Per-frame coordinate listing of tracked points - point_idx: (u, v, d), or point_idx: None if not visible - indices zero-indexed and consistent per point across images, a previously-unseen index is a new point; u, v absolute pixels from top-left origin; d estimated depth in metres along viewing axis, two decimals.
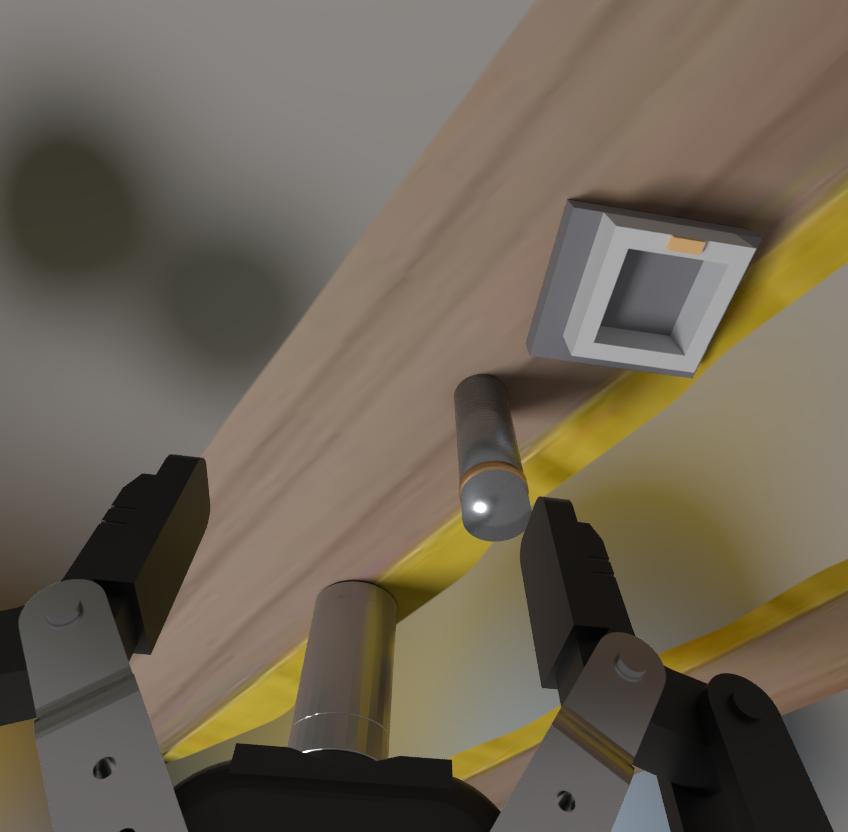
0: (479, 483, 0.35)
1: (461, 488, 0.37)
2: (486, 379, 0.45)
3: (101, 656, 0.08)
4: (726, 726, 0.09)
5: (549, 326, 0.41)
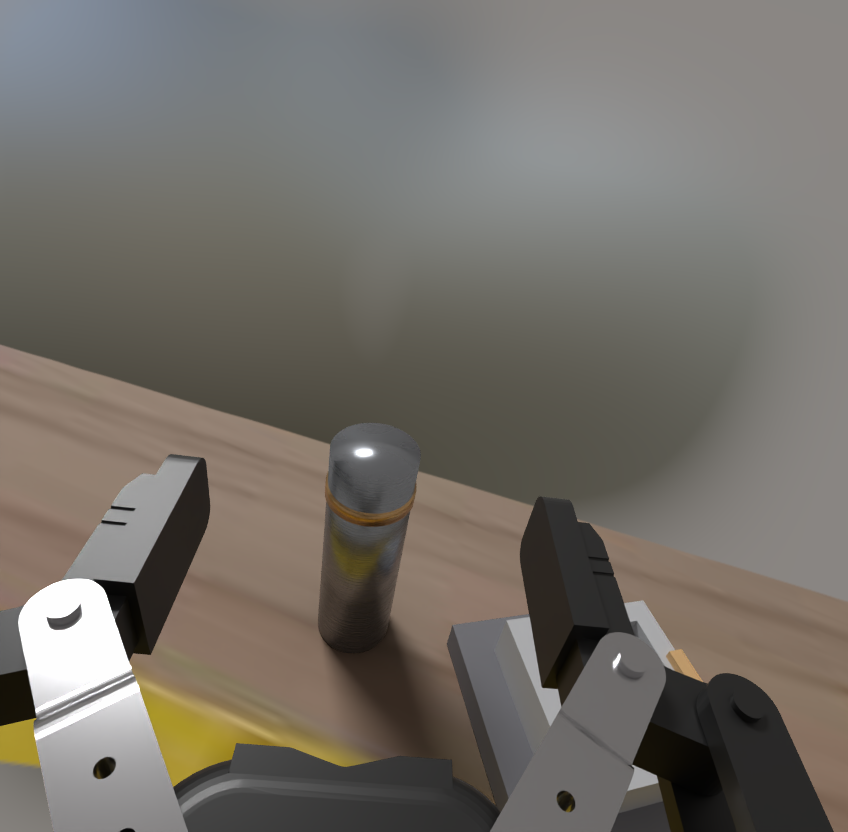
0: None
1: None
2: None
3: (101, 656, 0.08)
4: (726, 726, 0.09)
5: (496, 631, 0.34)
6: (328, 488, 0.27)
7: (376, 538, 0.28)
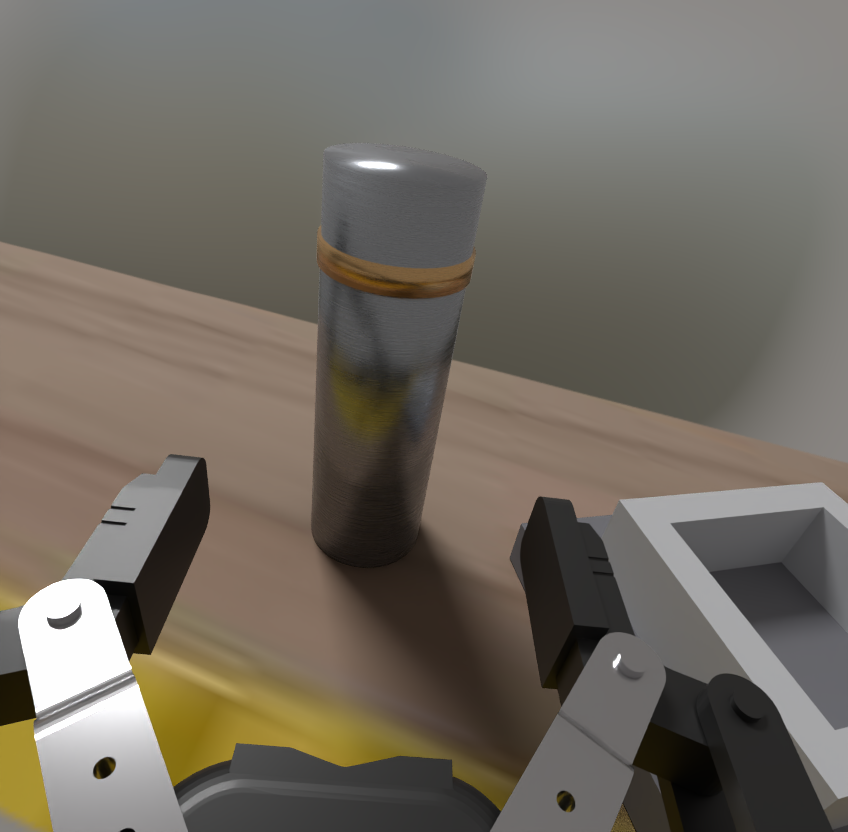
0: None
1: None
2: None
3: (101, 656, 0.08)
4: (726, 726, 0.09)
5: None
6: (322, 237, 0.15)
7: (408, 329, 0.15)
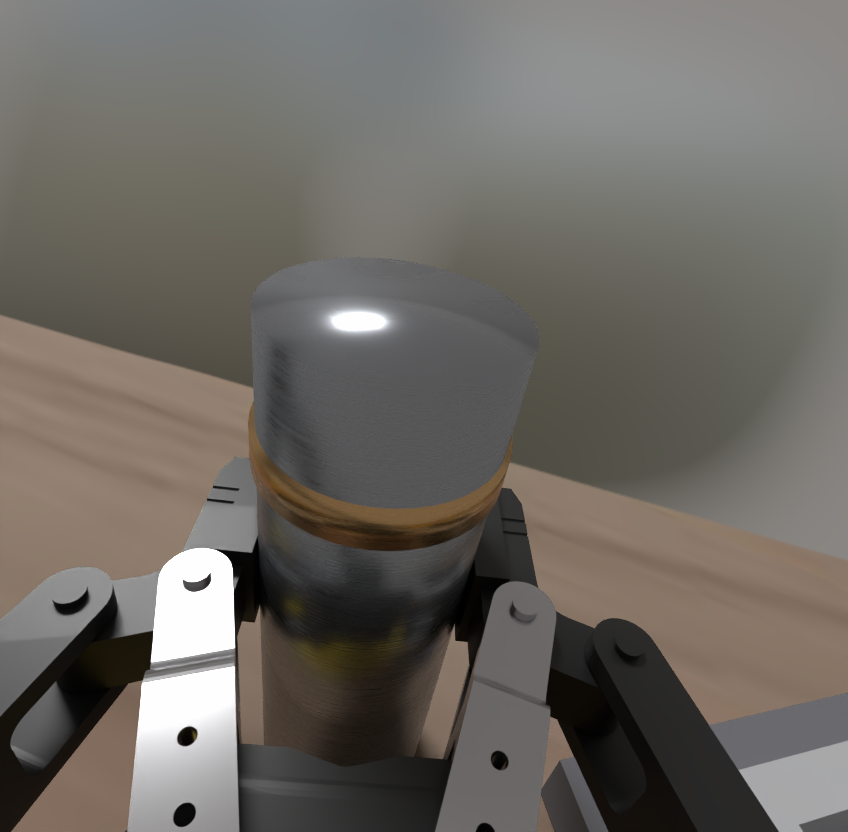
0: None
1: None
2: None
3: (214, 627, 0.09)
4: (606, 664, 0.10)
5: None
6: (253, 432, 0.09)
7: (402, 585, 0.09)
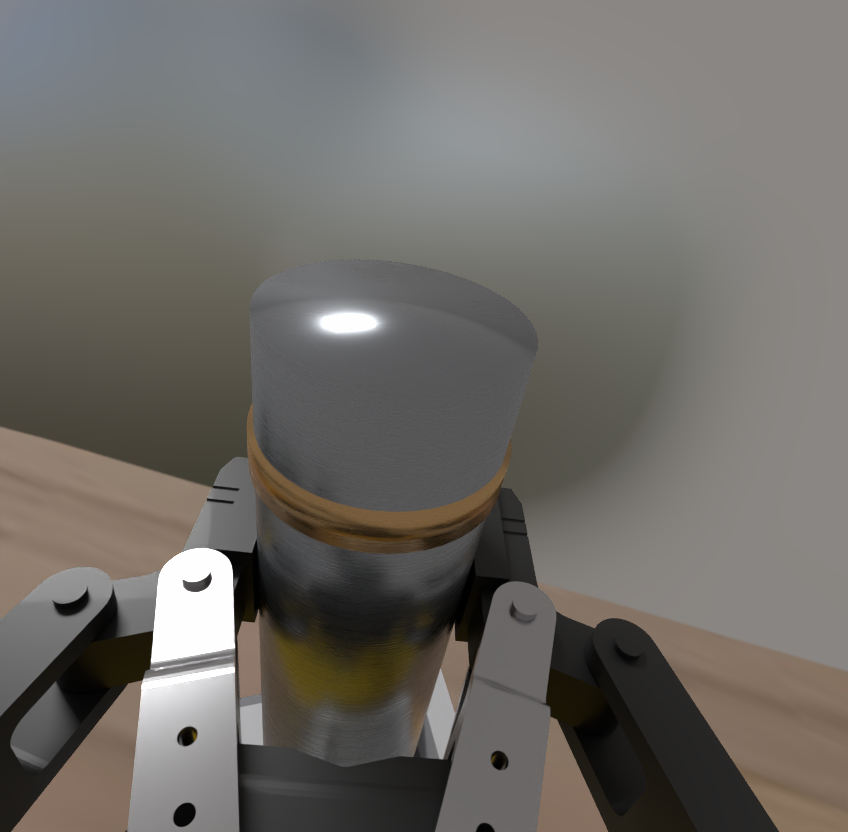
0: None
1: None
2: None
3: (214, 628, 0.09)
4: (606, 664, 0.10)
5: None
6: (252, 435, 0.09)
7: (400, 587, 0.09)
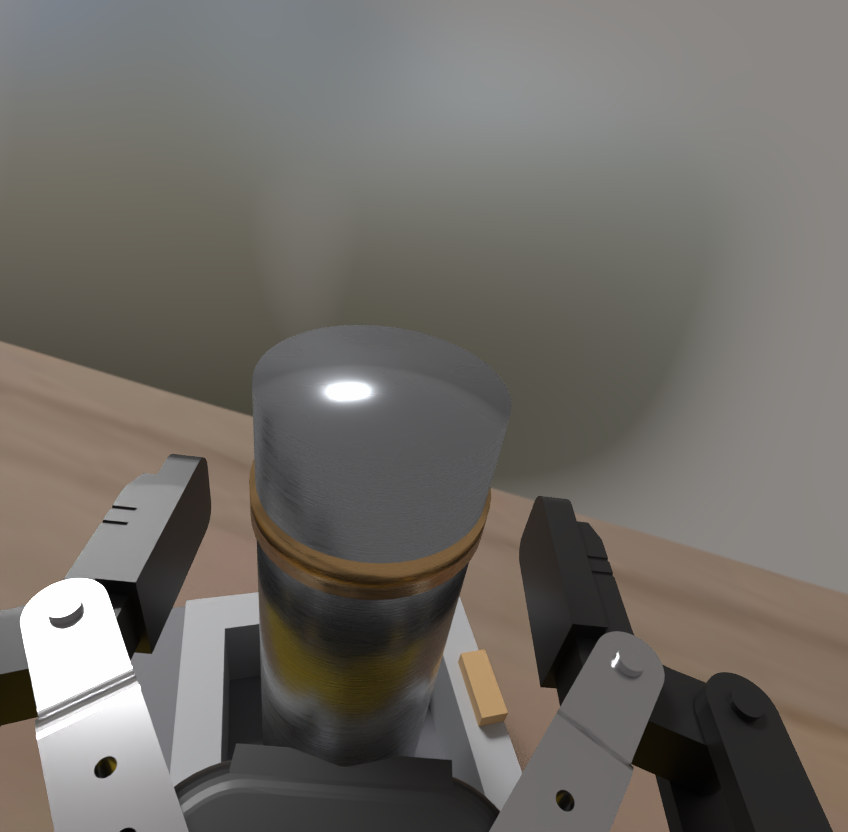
0: None
1: None
2: None
3: (102, 655, 0.08)
4: (724, 725, 0.09)
5: None
6: (254, 491, 0.10)
7: (389, 628, 0.10)
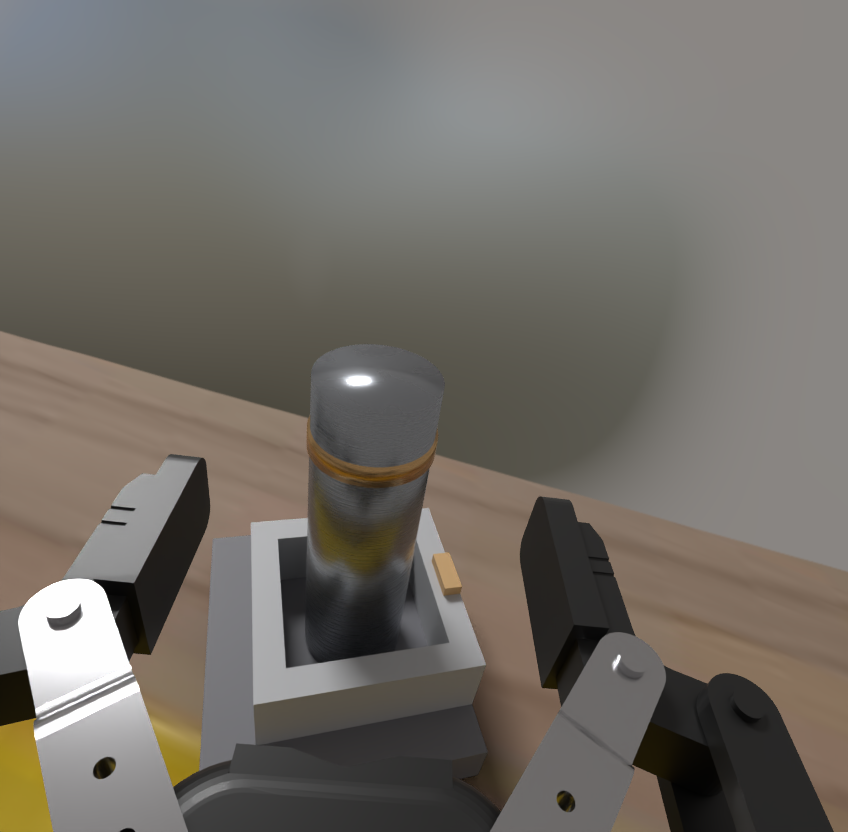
0: None
1: None
2: None
3: (101, 656, 0.08)
4: (726, 726, 0.09)
5: None
6: (310, 434, 0.19)
7: (382, 507, 0.19)
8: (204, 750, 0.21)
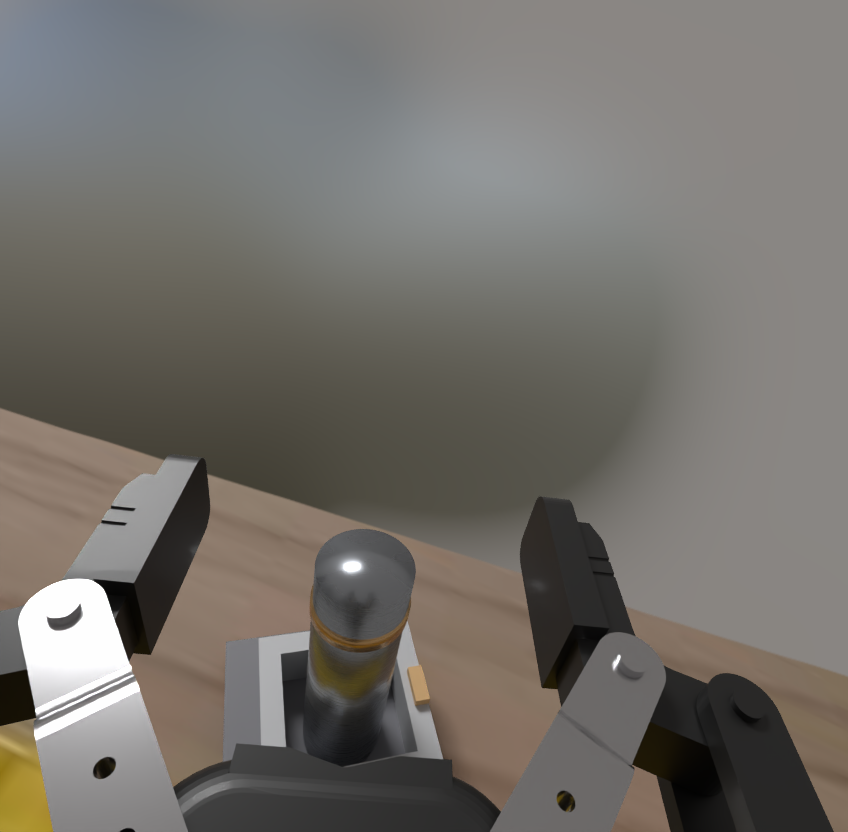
0: None
1: None
2: None
3: (101, 656, 0.08)
4: (726, 726, 0.09)
5: None
6: (313, 607, 0.25)
7: (367, 662, 0.25)
8: None
